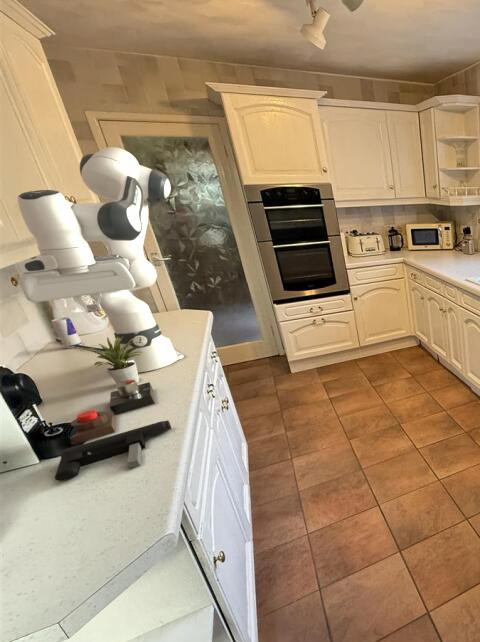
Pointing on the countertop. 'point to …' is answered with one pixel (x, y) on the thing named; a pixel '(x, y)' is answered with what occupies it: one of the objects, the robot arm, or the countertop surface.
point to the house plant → (119, 361)
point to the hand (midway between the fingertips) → (94, 311)
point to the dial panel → (132, 400)
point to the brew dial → (127, 388)
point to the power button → (87, 416)
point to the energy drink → (66, 332)
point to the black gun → (108, 449)
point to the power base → (94, 427)
